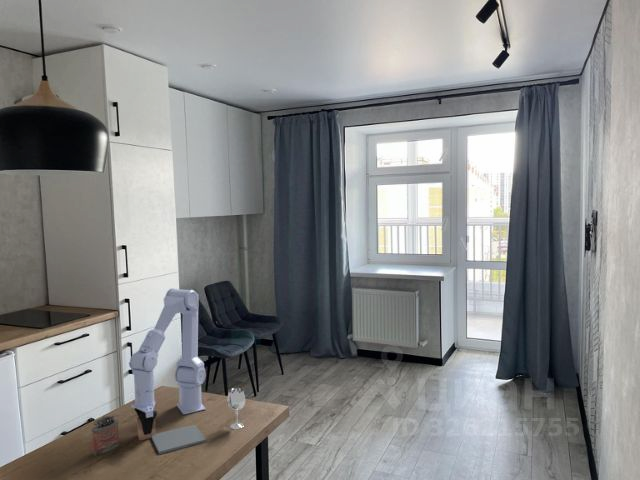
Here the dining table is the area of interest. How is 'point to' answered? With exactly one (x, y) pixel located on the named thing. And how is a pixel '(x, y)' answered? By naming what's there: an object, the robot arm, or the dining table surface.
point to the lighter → (105, 434)
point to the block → (140, 430)
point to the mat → (177, 439)
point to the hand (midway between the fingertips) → (146, 431)
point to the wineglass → (236, 404)
